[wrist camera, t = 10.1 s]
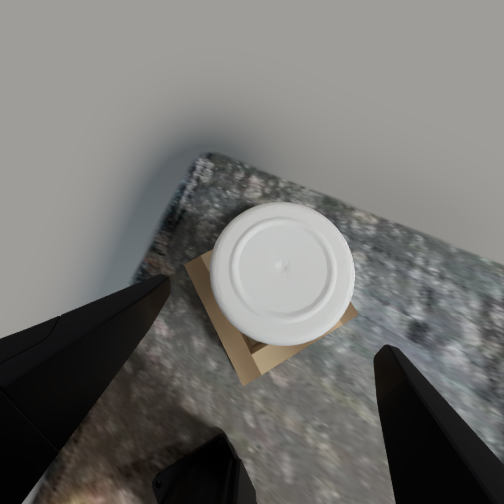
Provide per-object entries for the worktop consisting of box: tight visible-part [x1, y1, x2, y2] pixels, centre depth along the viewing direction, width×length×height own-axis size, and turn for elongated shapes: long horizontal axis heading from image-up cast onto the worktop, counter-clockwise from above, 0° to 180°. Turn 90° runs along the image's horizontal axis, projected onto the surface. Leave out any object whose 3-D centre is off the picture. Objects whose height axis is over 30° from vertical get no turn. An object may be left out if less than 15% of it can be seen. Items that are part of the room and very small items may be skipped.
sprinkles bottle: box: [210, 202, 355, 346], centre depth 13 cm, size 5×5×14 cm
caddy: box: [184, 249, 359, 386], centre depth 18 cm, size 11×11×4 cm
